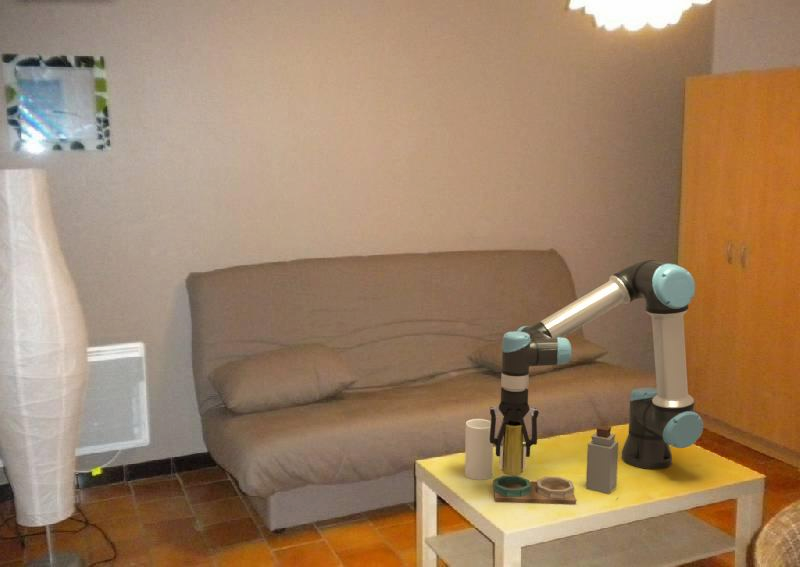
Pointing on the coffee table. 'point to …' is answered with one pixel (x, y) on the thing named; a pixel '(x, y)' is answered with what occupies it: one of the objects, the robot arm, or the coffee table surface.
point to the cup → (478, 450)
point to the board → (534, 490)
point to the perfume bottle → (602, 461)
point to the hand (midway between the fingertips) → (512, 467)
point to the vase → (513, 449)
